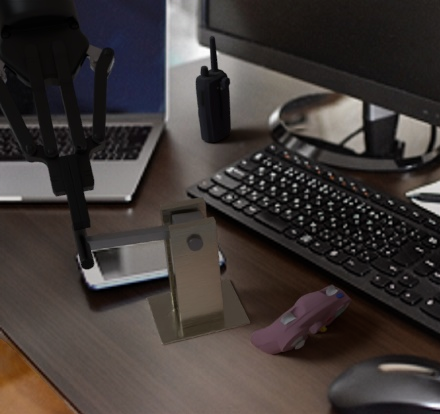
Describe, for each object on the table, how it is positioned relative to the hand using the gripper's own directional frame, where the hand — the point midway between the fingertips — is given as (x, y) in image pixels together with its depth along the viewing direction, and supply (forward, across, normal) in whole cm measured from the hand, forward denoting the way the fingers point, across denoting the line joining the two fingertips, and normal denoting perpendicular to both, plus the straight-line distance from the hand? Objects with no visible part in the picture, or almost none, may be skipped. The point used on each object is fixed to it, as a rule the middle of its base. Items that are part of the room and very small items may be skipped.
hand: (81, 225), depth 77 cm
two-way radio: (-18, +23, +38) cm, 48 cm away
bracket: (+10, +10, +9) cm, 17 cm away
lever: (+3, +5, +2) cm, 6 cm away
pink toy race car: (+15, +19, +5) cm, 24 cm away
